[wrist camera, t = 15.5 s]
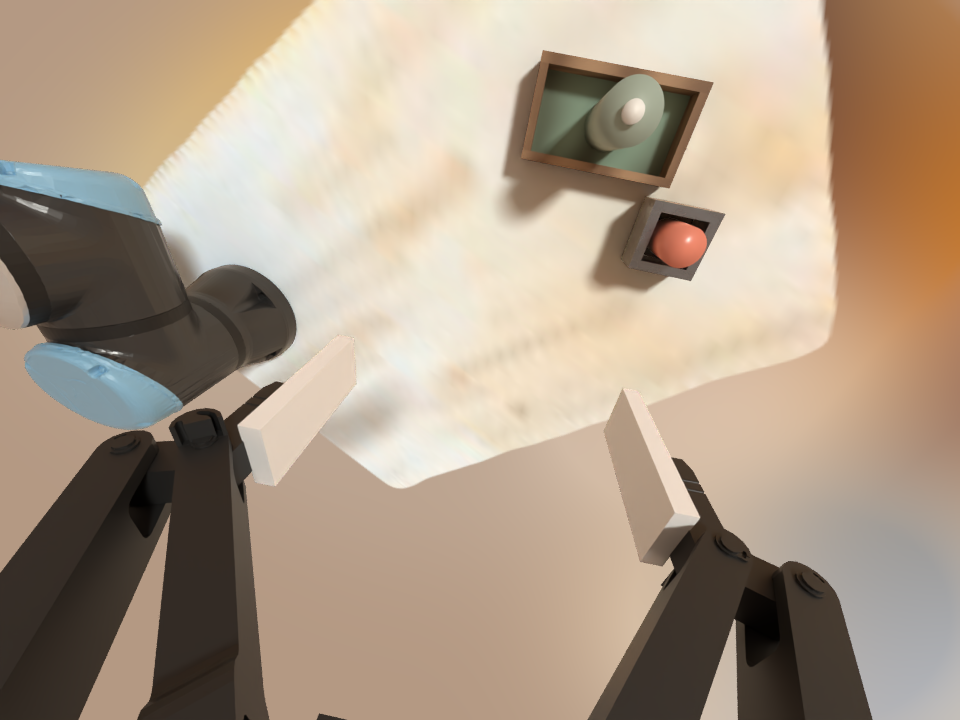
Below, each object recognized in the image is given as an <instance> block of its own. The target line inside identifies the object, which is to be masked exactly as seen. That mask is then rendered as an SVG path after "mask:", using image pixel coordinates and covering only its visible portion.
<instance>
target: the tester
mask: <svg viewBox="0 0 960 720" xmlns="http://www.w3.org/2000/svg"><path fill="white" fill-rule="evenodd" d="M661 212H662V213H667V214H672V215H677V216H682V217H687V218H692V219H694V220H693V222H692V224H691V225H692V226H694V227H697V228H699V229H701V230H702V231H703V232H704V234H705V236H706V239H707V246H706V249H705V252H704V254H703V255H702V256H701V258H700V259H699V260H698V261H697V262H695V263H694V264H692V265H690V266H688V267H684V268H674V267H671V266H669V265H668V264H666V263H665V262H664V261H662V260H661V259H660V258H656V257H651V256H646V255H644V252H645V250H646V247H647V245H648V243H649V240H650V238H651V236H652V233H653V231H654V229H655V226H656V224H657V221H658V219H659V217H660V214H661ZM724 216H725V214H724V213H720V212H716V211H712V210H709V209H704V208H699V207H694V206H689V205H684V204H679V203H675V202H670V201H665V200H660V199H655V198H650V197H645V198H644V201H643V204H642V206H641V209H640V211H639V214H638V216H637V219H636V221H635V224H634V227H633V229H632V232H631V234H630V237H629V239H628V242H627V245H626V247H625V250H624V252H623V255H622V257H621V260H622V261H623V262H624V263H625V264H626V265H627V267H628V268H633V269H637V270H642V271H647V272H651V273H656V274H661V275H665V276H670V277H675V278H679V279H684V280H689V281H691V280H692V278H693V276H694V274H695V272H696V270H697V268H698V266H699V264H700V262H701V260H702V258H703V256H704V255H705V253H706V251H707V249H708V247H709V245H710V243H711V241H712V239H713V237H714V235H715V233H716V231H717V229H718V227H719V225H720V223H721V222H722V220H723V218H724Z"/></svg>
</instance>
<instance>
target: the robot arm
mask: <svg viewBox="0 0 960 720" xmlns="http://www.w3.org/2000/svg"><path fill="white" fill-rule="evenodd" d="M161 225H162V224H161V222H160V220H158V219H157V218H156V216H155V214H154V212H153V210H152V208H151V205H150V203H149V201H148V199H147V197H146V194H145V192H144V191H143V189H142V188H141V187H140V186H139V185H138V184H137V183H136V182H135V181H133V180H132V179H130V178H128V177H127V176H124V175H122V174H118V173H113V172H104V171H96V170H87V169H78V168H69V167H60V166H51V165H42V164H32V163H23V162H13V161H5V160H0V327H3V328H7V329H13V330H15V329H21V328H25V327H29V326H33V325H37V327H38V328H39V330H40V331H41V333H42V334H43V336H44V337H45V339H46V341H47V342H46V343H41V344H37V345H36V346H34V348H33V349H31V350H30V351H28V352H27V354H26V355H25V357H24V361H25V368H26V370H27V372H28V374H29V375H30V376H31V378H32V379H33V380H34V381H35V382H36V384H38V386H39V387H41V388H42V389H43V390H44V391H45V392H46V393H47V394H48V395H50V396H51V397H52V398H54V399H55V400H56V401H58V402H59V403H61V404H62V405H64V406H65V407H67V408H68V409H70V410H72V411H74V412H75V413H78V414H79V415H81V416H83V417H85V418H87V419H89V420H92V421H94V422H97V423H100V424H103V425H106V426H109V427H113V428H118V429H125V430H137V429H143V428H147V427H149V426H152V425H154V424H156V423H157V422H159V421H161V420H162V419H164V418H166V417H168V416H169V415H171V414H173V413H175V412H178V411H180V410H181V409H182V407H183V406H185V405H186V404H187V403H189V402H190V401H192V400H193V399H195V398H196V397H198V396H199V395H201V394H202V393H203V392H205V391H206V390H208V389H209V388H211V387H212V386H214V385H215V384H216V383H218V382H219V381H221V380H222V379H224V378H225V377H227V376H228V375H229V374H231V373H232V372H234V371H235V370H237V369H238V368H240V367H243V366H247V365H250V364H254V363H258V362H262V361H266V360H269V359H272V358H274V357H277V356H278V355H280V354H281V353H282V352H284V351H285V350H286V349H288V348H289V347H290V346H291V344H292V343H293V341H294V339H295V336H296V320H295V316H294V313H293V310H292V308H291V306H290V304H289V302H288V301H287V299H286V298H285V296H284V295H283V293H282V292H281V291H280V290H279V289H278V288H277V287H276V286H275V285H274V284H273V283H272V282H271V281H270V280H269V279H267V278H266V277H264V276H263V275H261V274H260V273H258V272H256V271H254V270H252V269H250V268H247V267H243V266H239V265H224V266H220V267H217V268H214V269H211V270H209V271H207V272H205V273H203V274H202V275H200V276H199V277H198V279H197V280H196V281H195V282H194V283H192V284H191V285H190V286H189V287H188V288H187V289H185V288H184V285H183V283H182V280H181V278H180V275H179V273H178V270H177V268H176V265H175V263H174V260H173V258H172V255H171V253H170V250H169V248H168V245H167V242H166V240H165V237H164V235H163V232H162V230H161V227H160V226H161ZM356 384H357V383H356V366H355V350H354V338H353V337H348V336H343V335H338V336H337V337H335V338H334V339H333V340H332V341H331V342H330V343H329V344H328V345H327V346H325V347H324V348H323V349H322V350H321V351H320V352H319V353H318V354H316V355H315V356H314V357H313V358H312V359H311V360H310V361H309V362H308V363H306V364H305V365H304V366H303V367H302V368H301V369H300V370H299V371H297V372H296V373H295V374H294V375H293V376H292V377H291V378H290V379H289V380H287V381H286V382H285V383H281V382H274V383H272V384H270V385H268V386H266V387H263V388H262V389H261V390H260V391H258V392H257V393H256V394H255V395H254V396H253V398H252V397H251V398H250V399H249V400H248V401H247V402H246V403H245V404H243V405H242V406H241V407H240V408H238V409H237V410H236V411H235V412H233V413H232V414H231V415H230V416H229V417H228V418H226V419H225V420H223V417H222V415H221V413H220V412H219V411H217V410H215V409H209V408H205V409H196V410H193V411H189V412H186V413H184V414H183V415H181V416H179V417H177V418H176V419H175V420H174V421H172V422H171V424H170V426H169V430H170V432H171V434H172V436H173V438H174V441H163V442H155V440H154V438H153V436H152V434H151V433H150V432H146V431H130V432H125V433H122V434H119V435H116V436H113V437H111V438H110V439H108V440H106V441H104V442H103V443H102V444H101V445H100V446H98V447H97V448H96V450H95V451H94V452H93V453H92V455H91V456H90V458H89V459H88V460H87V461H86V463H85V464H84V465H83V466H82V468H81V469H80V470H79V472H78V473H77V474H76V475H75V477H74V478H73V479H72V481H71V482H70V483H69V485H68V486H67V487H66V489H65V490H64V491H63V492H62V494H61V495H60V496H59V498H58V499H57V500H56V502H55V503H54V504H53V505H52V507H51V508H50V509H49V510H48V512H47V513H46V514H45V516H44V517H43V518H42V520H41V521H40V522H39V523H38V525H37V526H36V527H35V529H34V530H33V531H32V532H31V534H30V535H29V536H28V538H27V539H26V540H25V542H24V543H23V544H22V545H21V547H20V548H19V549H18V551H17V552H16V553H15V555H14V556H13V557H12V558H11V560H10V561H9V562H8V564H7V565H6V566H5V567H4V569H3V570H2V572H1V573H0V720H78V719H79V717H80V714H81V712H82V710H83V708H84V706H85V703H86V701H87V699H88V697H89V694H90V692H91V690H92V688H93V685H94V683H95V681H96V679H97V677H98V674H99V672H100V670H101V667H102V665H103V663H104V661H105V659H106V656H107V654H108V652H109V650H110V647H111V645H112V643H113V640H114V638H115V636H116V634H117V632H118V629H119V627H120V625H121V623H122V620H123V618H124V616H125V614H126V611H127V609H128V607H129V604H130V602H131V600H132V598H133V596H134V593H135V591H136V589H137V587H138V584H139V582H140V580H141V578H142V575H143V573H144V571H145V569H146V567H147V564H148V562H149V560H150V558H151V555H152V553H153V551H154V549H155V546H156V544H157V542H158V540H159V537H160V535H161V533H162V531H163V528H164V526H165V524H166V522H167V519H168V517H169V515H170V513H171V515H170V524H169V533H168V543H167V552H166V562H165V572H164V582H163V591H162V600H161V611H160V620H159V629H158V639H157V648H156V658H155V668H154V677H153V687H152V693H151V697H150V700H149V702H148V703H147V704H146V706H144V708H143V709H142V710H141V712H140V714H139V716H138V719H137V720H269V716H268V711H267V707H266V703H265V697H264V690H263V678H262V667H261V656H260V644H259V633H258V622H257V610H256V599H255V588H254V578H253V577H254V576H253V566H252V554H251V543H250V531H249V520H248V509H247V497H246V486H245V483H244V479H245V478H246V477H247V476H248V475H249V474H250V473H251V472H252V475H253V478H254V481H255V483H260V484H265V485H270V486H274V487H275V486H276V485H277V484H278V483H279V481H280V480H281V479H282V478H283V476H284V475H285V474H286V472H287V471H288V470H289V469H290V467H291V466H292V465H293V464H294V462H295V461H296V460H297V459H298V457H299V456H300V455H301V453H302V452H303V451H304V450H305V448H306V447H307V446H308V444H309V443H310V442H311V441H312V439H313V438H314V437H315V436H316V434H317V433H318V432H319V431H320V429H321V428H322V427H323V425H324V424H325V423H326V422H327V420H328V419H329V418H330V417H331V415H332V414H333V413H334V412H335V410H336V409H337V408H338V406H339V405H340V404H341V403H342V401H343V400H344V399H345V398H346V396H347V395H348V394H349V392H350V391H351V390H352V389H353V387H354V386H355V385H356ZM604 434H605V438H606V441H607V445H608V448H609V452H610V456H611V459H612V463H613V466H614V470H615V474H616V477H617V480H618V484H619V488H620V491H621V495H622V499H623V502H624V506H625V509H626V513H627V517H628V520H629V524H630V527H631V531H632V535H633V538H634V542H635V545H636V549H637V552H638V556H639V560H640V562H644V563H648V564H653V565H658V566H663V565H664V564H665V562H666V561H667V560H668V558H669V557H670V558H671V561H672V563H673V566H674V570H673V571H672V572H671V573H670V574H669V576H668V577H667V578H666V579H665V581H664V582H663V583H662V584H661V586H663V587H662V589H661V591H660V592H659V594H658V596H657V598H656V600H655V601H654V603H653V605H652V607H651V608H650V610H649V612H648V614H647V616H646V617H645V619H644V621H643V623H642V624H641V626H640V628H639V630H638V631H637V633H636V635H635V637H634V639H633V640H632V642H631V644H630V646H629V647H628V649H627V651H626V653H625V655H624V656H623V658H622V660H621V662H620V663H619V665H618V667H617V669H616V670H615V672H614V674H613V676H612V677H611V679H610V681H609V683H608V685H607V687H606V688H605V690H604V692H603V694H602V695H601V697H600V699H599V701H598V702H597V704H596V706H595V708H594V709H593V711H592V713H591V715H590V717H589V718H588V720H700V717H701V715H702V711H703V708H704V705H705V703H706V700H707V697H708V694H709V691H710V688H711V685H712V682H713V679H714V676H715V673H716V670H717V667H718V665H719V662H720V659H721V656H722V653H723V650H724V647H725V644H726V641H727V638H728V635H729V632H730V629H731V626H732V624H733V620H734V619H735V620H736V651H737V693H738V696H737V699H738V720H872V716H871V713H870V709H869V706H868V702H867V698H866V694H865V691H864V688H863V684H862V680H861V676H860V673H859V669H858V666H857V662H856V659H855V655H854V651H853V648H852V644H851V641H850V637H849V634H848V630H847V627H846V623H845V619H844V615H843V612H842V608H841V605H840V601H839V599H838V597H837V595H836V592H835V591H834V590H833V588H832V587H831V586H830V585H829V583H828V582H827V581H826V580H825V579H824V578H823V577H821V576H820V575H819V574H818V573H817V572H815V571H814V570H812V569H811V568H809V567H807V566H805V565H803V564H801V563H798V562H793V561H788V562H786V563H784V564H783V565H782V566H781V567H780V568H779V567H777V566H775V565H772V564H770V563H768V562H766V561H764V560H761V559H759V558H757V557H755V556H753V555H751V553H750V551H749V549H748V548H747V546H746V545H745V544H744V543H743V541H741V540H740V539H739V538H738V537H737V536H735V535H734V534H733V533H731V532H729V531H727V530H726V529H724V528H723V526H722V524H721V523H720V521H719V519H718V517H717V515H716V513H715V511H714V509H713V508H712V506H711V504H710V502H709V501H708V498H707V496H706V495H705V494H704V491H703V489H702V487H701V485H700V484H699V481H698V480H697V478H696V476H695V474H694V472H693V470H692V469H691V468H690V467H689V466H688V465H687V464H686V463H685V462H684V461H683V460H682V459H677V458H672V457H671V456H670V454H669V452H668V450H667V448H666V446H665V444H664V442H663V440H662V438H661V435H660V433H659V431H658V429H657V427H656V425H655V423H654V421H653V419H652V417H651V415H650V413H649V411H648V409H647V407H646V404H645V402H644V400H643V398H642V396H641V394H640V392H639V391H636V390H631V389H626V388H623V389H622V391H621V393H620V395H619V398H618V400H617V402H616V404H615V407H614V409H613V411H612V413H611V416H610V418H609V420H608V422H607V425H606V427H605V429H604ZM317 720H345V719H341V718H337V717H332V716H328V715H324V714H319V716H318V718H317Z"/></svg>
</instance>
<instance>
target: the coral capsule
mask: <svg viewBox="0 0 960 720" xmlns="http://www.w3.org/2000/svg"><path fill="white" fill-rule="evenodd" d="M706 246H707V239H706V236H705V234H704V232H703V231H702V230H701V229H699V228H697V227H694V226H692V225H689V224H687V223H684V222H682V221H679V220H677V219H674V218H664V219H661V220H659V221H657V224H656V226H655V229H654V231H653V233H652V236H651V238H650V240H649V243H648V245H647V248H648V249H649V250H650V251H651V252H652V253H653V254H655V255H656V256H657V257H659V258H660V259H661V260H662V261H664V262H665V263H666V264H668V265H669V266H671V267H674V268H684V267H688V266H690V265H692V264H694V263H695V262H697V261H698V260H699V259H700V258H701V256H702V255H703V254H704V252H705V249H706Z"/></svg>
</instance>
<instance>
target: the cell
mask: <svg viewBox="0 0 960 720" xmlns="http://www.w3.org/2000/svg"><path fill="white" fill-rule="evenodd" d="M663 111H664V95H663V91H662V89H661V86H660V85H659V83H658V82H657V81H656V80H655V79H653V78H652V77H650V76H648V75H644V74H635V75H631V76H628V77H626V78H624V79H623V80H621V81H620V82H618V83H617V84H616V85H615V86H614V87H613V88H612V89H611V90H610V91H609V92H608V93H607V94H606V95H605V96H604V97H603V98H602V99H601V100H600V101H599V102H598V103H597V104H595V106H594V107H593V108H592V109H591V110H590V112H589V114H588V116H587V118H586V121H585V126H584V133H585V138H586V141H587V142H588V144H589V145H590V146H591V147H592V148H593V149H594V150H597V151H600V152H606V151H612V150H618V149H623V148H629V147H633V146H636V145H638V144H640V143H642V142H644V141H645V140H646V139H648V138H649V137H650V136H651V135H652V133H653V132H654V131H655V130H656V128H657V126H658V125H659V123H660V120H661V118H662V115H663Z"/></svg>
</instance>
